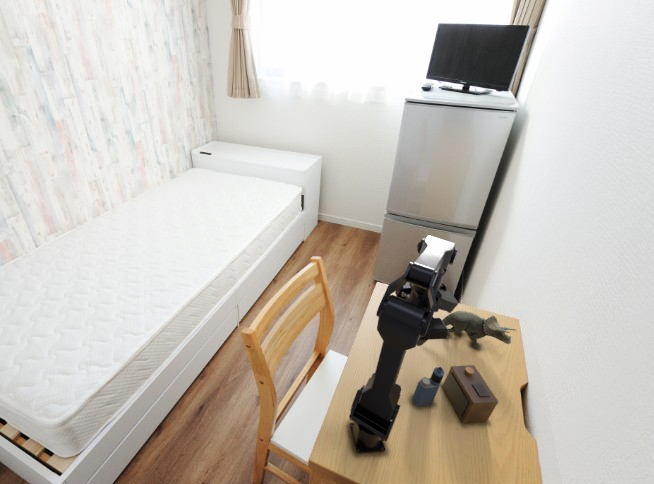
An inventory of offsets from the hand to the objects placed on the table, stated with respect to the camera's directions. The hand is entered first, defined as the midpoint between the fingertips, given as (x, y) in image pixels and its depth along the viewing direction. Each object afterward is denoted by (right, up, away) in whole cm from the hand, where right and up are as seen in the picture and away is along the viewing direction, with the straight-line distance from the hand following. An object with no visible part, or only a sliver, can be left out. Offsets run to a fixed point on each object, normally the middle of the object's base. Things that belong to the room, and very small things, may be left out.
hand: (411, 331), depth 90 cm
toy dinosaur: (+21, -6, +15) cm, 26 cm away
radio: (+11, -17, -4) cm, 21 cm away
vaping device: (+1, -16, -4) cm, 17 cm away
